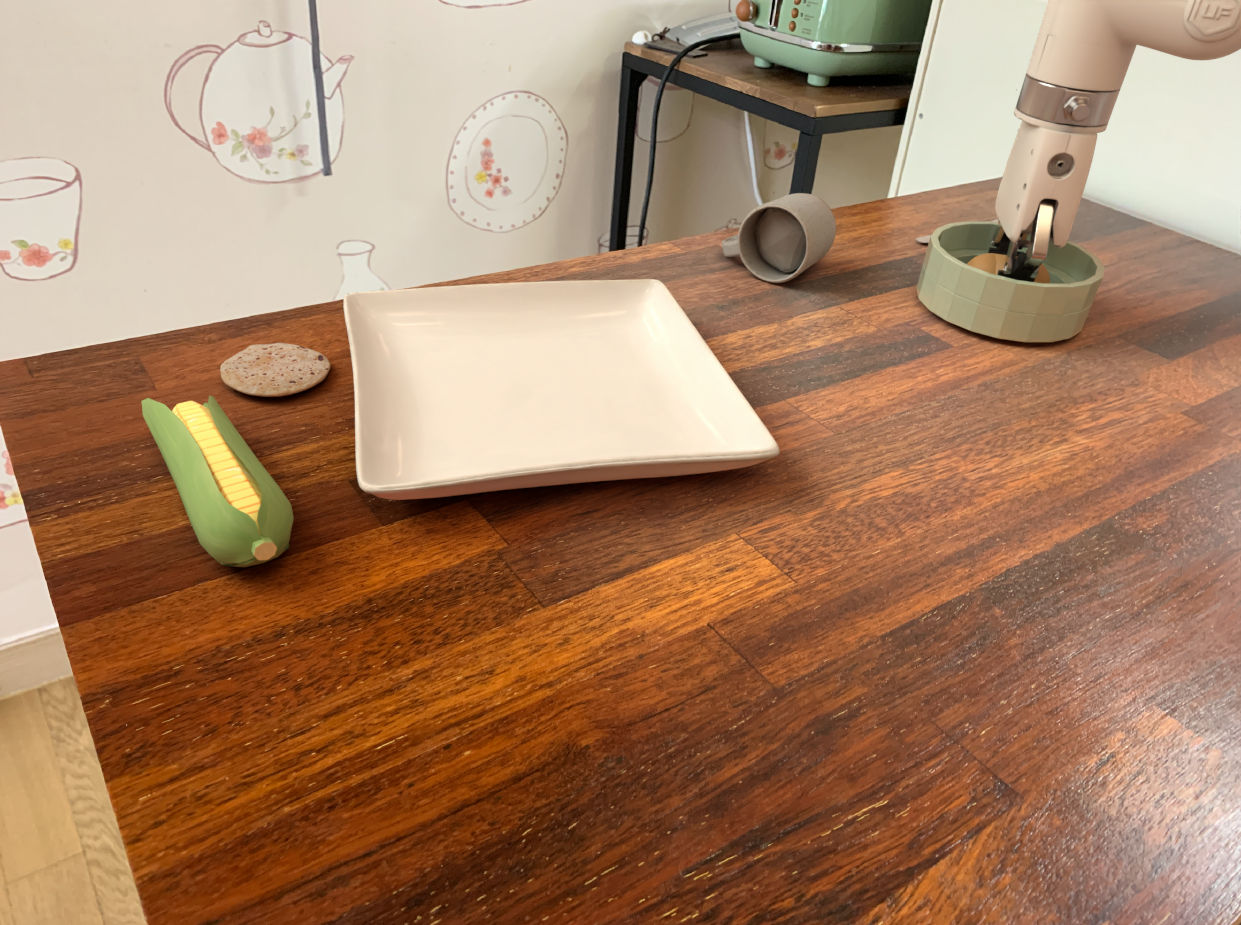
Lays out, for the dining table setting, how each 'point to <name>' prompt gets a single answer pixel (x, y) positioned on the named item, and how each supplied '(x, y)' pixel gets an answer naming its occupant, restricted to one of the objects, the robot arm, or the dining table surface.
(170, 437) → the edible corn
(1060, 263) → the bowl
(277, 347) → the flatbread
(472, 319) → the square plate
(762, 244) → the ceramic mug
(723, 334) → the dining table surface
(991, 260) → the tan rounded oval piece
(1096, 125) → the robot arm
